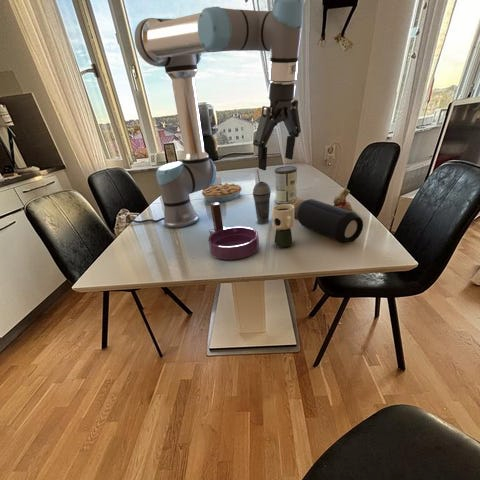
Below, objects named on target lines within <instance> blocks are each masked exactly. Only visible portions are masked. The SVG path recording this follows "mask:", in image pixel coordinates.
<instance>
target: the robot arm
mask: <svg viewBox="0 0 480 480" xmlns="http://www.w3.org/2000/svg"><path fill="white" fill-rule="evenodd" d="M303 17H304V2H303V0H274V1H273V3H272V10H253V9H240V8H239V9H238V8H237V9H233V8H225V7H220V6H211V7H210V6H209V7H205V8H203V9H202V10H201V12H197V13H193V14H190V15H189V14H188V15H185V16H180V17H176V18H158V17H157V18H156V17H149V18H144V19H142V20H141V21H139V22H138V24H137V26H136V27H135V30H134V44H135V48H136V50H137V53H138V54H139V56H140V57H141V58H142V60H143V61H144V62H145V63H147V64H149V65H150V66H153V67H157V68H161V67H164V71H165V75H166V76H167V77H168V78H169V79H170V81H171V85H172V91H173V92H172V93H173V97H174V103H175V108H176V114H177V119H178V125H179V130H180V135H181V142H182V148H183V152H184V153H183V156H182V157H181V161H173V162H169V163H166V164H164V165H161V166H159V167H158V168H157V170H156V171H155V175H156V181H157V184H158V188H159V192H160V196H161V200H162V202H163V206H164V209H163V210H164V211H163V215H164V216H163V217H162V218H159V219H153V218H152V219H151V218H150V219H144V220H143V219H142V220H136V219H130V220H129V221H128V224H131V223H132V222H133V223H136V224H142V223H146V222H153V223H159V222H161V221H163V223H164V226H165V227H166V228H169V229H170V228H171V229H180V228H185V227H189V226H193V225H194V224H195V223H197V222H198V220H199V218H198V214H197V212H196V211H195V208H194V206H193V204H192V202H191V198H190V195H192V194H194V193H196V192H200V191H203V190H205V189H207V188H209V187H211V186H214V184H215V183H216V180H217V167H216V164H214V161H213V159H211V158H210V156H209V153H207V152H206V150H205V144H204V137H203V129H202V124H201V116H200V108H199V102H198V95H197V87H196V80H195V78H196V77H195V76H196V75H197V72H198V64H200V62H201V56H202V54H208V53H220V52H221V53H222V52H245V51H246V52H247V51H249V52H250V51H251V52H252V51H254V52H255V51H257V52H258V51H259V52H269V53H270V56H269V57H270V58H269V73H268V80H269V81H270V82H269V84H268V92H267V93H268V95H267V97H268V100H269V102H270V104H269V106H265V105H263V106H261V114H260V119H259V122H258V125H257V129H256V132H255V135H254V139H253V142H252V145H253V146H255V147H257V158H258V167H257V169H258V170H262V171H267V162H268V161H267V160H268V147H267V144H268V143H269V140H270V137H271V136H272V133H273V131H274V129H275V127H276V126H277V125H278V124H280V123H281V122H283V124H284V126H285V128H286V130H287V133H288V135H287V137H286V146H285V154H284V155H285V156H284V158H285V159H288V160H293V159H294V158H293V157H294V151H295V146H296V145H295V144H296V139H297V138H299V136H300V134H301V132H302V129H301V122H300V116H299V109H298V108H299V100H298V99H295V95H296V82H295V81H296V80H297V76H298V75H297V74H298V63H299V54H300V52H299V51H300V45H301V37H302V30H303V25H304V21H303Z"/></svg>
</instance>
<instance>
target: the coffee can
mask: <svg viewBox="0 0 480 480" xmlns="http://www.w3.org/2000/svg"><path fill="white" fill-rule="evenodd" d="M297 173H298V167H297V166H295V165H294V166H292V165H291V166H290V165H285V166H279V167H277V168H275V169H274V190H275V203H277V204H291V203H292V202H293V201H295V200H297V181H298V180H297V179H298V178H297V176H298V175H297Z"/></svg>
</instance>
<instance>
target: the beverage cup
mask: <svg viewBox="0 0 480 480" xmlns="http://www.w3.org/2000/svg"><path fill="white" fill-rule="evenodd" d="M256 173H257V179H258V180H257V181H258V182H257V183H256V184H254V186H253V189H252V198H253V200H254V208H255V214H256V220H257V224H259V225H266V224H268V223H269V219H270V202H271V201H270V200H271V199H270V198H271V192H272V191H271V187H270V185H269V184H268V183H267V182H265V181H261V179H260V172H259V169H256Z"/></svg>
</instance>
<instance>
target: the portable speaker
mask: <svg viewBox="0 0 480 480" xmlns="http://www.w3.org/2000/svg"><path fill="white" fill-rule="evenodd" d="M304 200H305V201H303V202H301V203H300V204H299V206H298V208H297V211H296V217H297V218H296V220H297V221H298V223H299V224H300V225H301V226H303V227H305V228H308V229H310V230H313V231H315V232H317V233H319V234H321V235H323V236H325V237H328V238H330V239H333V240H334V241H336V242H339V243H341V244H349V243H353V242H355V241H357V239H358V238H359V237H360V235H361V234H362V232H363V228H364V221H363V218H361V216H360V215H359V214H357V213H356V212H354V211H348V210H345V209H342V208H339V207H336V206H333V205H334V204H333V205H332V204H329V203H326V202H323V201H320V200H317V199H314V198H310V199H304Z"/></svg>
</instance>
